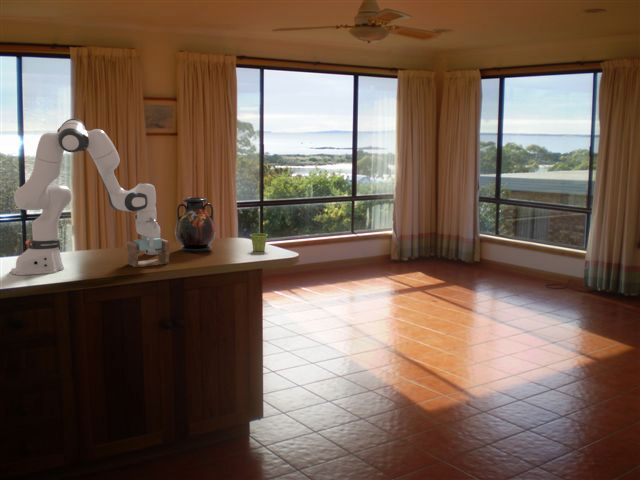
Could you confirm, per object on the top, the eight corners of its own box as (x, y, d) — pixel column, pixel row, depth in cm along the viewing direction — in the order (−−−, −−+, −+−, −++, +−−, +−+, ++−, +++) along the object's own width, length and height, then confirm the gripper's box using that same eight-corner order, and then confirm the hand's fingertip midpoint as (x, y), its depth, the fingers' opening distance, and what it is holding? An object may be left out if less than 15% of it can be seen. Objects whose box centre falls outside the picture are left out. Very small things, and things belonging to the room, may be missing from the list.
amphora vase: (176, 254, 358) (174, 200, 354) (174, 247, 379) (173, 196, 374) (217, 253, 363) (217, 200, 359) (214, 246, 384) (213, 196, 379)
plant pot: (271, 250, 373) (271, 234, 372) (260, 252, 366) (260, 236, 364) (257, 248, 378) (257, 232, 377) (246, 251, 371) (246, 235, 369)
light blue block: (161, 248, 335) (161, 238, 334) (139, 250, 327) (139, 241, 326) (156, 246, 339) (156, 237, 338) (134, 249, 331) (134, 239, 330)
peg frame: (134, 267, 326) (134, 244, 324) (128, 264, 333) (127, 241, 331) (169, 263, 335) (168, 241, 334) (161, 260, 343) (161, 238, 341)
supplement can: (157, 255, 355) (156, 226, 353) (142, 254, 357) (141, 226, 355) (163, 252, 363) (162, 224, 361) (149, 252, 365) (148, 223, 363)
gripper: (162, 218, 324) (162, 247, 326) (145, 214, 340) (146, 241, 342) (149, 219, 320) (150, 249, 322) (133, 214, 337) (134, 242, 339)
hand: (148, 245), depth 333 cm, fingers closed on light blue block, 5 cm apart
